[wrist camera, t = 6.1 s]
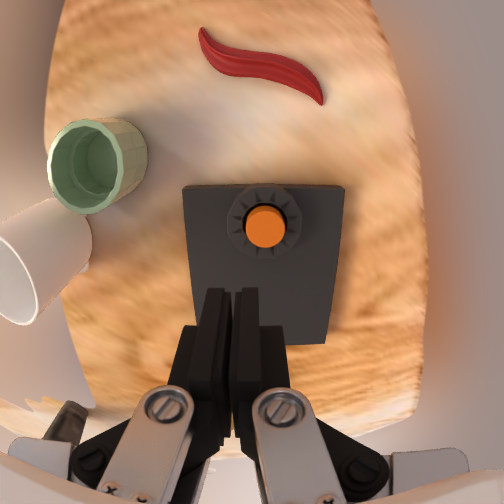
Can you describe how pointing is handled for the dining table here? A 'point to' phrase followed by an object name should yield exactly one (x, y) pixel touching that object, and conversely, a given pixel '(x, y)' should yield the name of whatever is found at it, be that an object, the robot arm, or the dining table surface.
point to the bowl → (96, 163)
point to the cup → (40, 257)
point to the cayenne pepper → (260, 66)
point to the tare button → (265, 226)
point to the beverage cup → (68, 424)
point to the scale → (268, 252)
